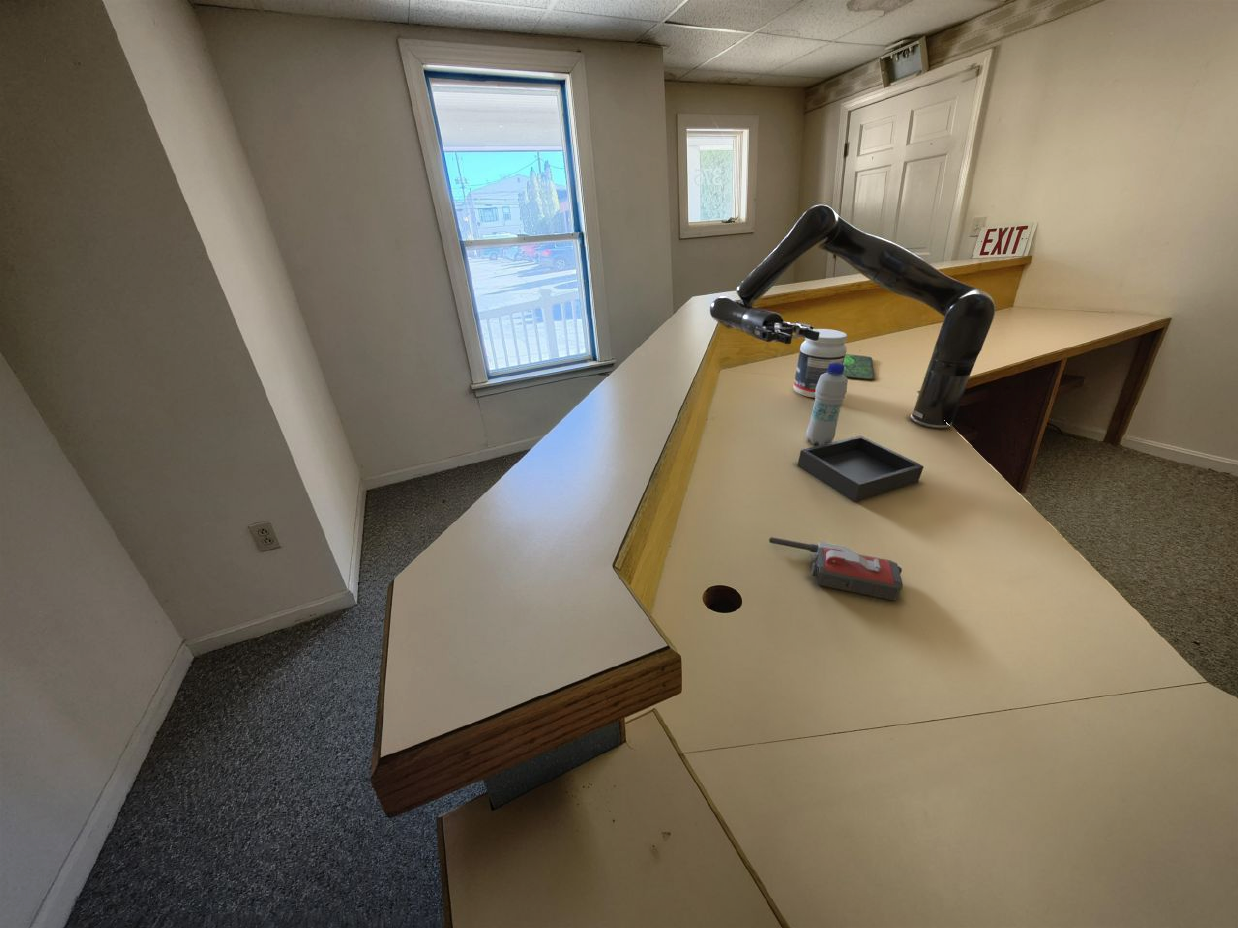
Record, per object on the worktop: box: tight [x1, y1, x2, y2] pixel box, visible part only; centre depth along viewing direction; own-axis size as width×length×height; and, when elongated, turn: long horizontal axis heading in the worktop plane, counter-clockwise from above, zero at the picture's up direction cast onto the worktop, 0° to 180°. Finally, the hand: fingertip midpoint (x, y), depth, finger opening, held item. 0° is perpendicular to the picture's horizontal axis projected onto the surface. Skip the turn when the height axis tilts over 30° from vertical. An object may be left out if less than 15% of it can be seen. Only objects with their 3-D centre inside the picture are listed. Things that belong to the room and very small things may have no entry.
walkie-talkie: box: [768, 536, 903, 601], centre depth 72 cm, size 9×4×20 cm
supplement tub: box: [792, 328, 848, 399], centre depth 137 cm, size 13×13×18 cm
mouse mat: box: [843, 353, 875, 381], centre depth 165 cm, size 27×22×1 cm
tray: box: [797, 435, 925, 503], centre depth 98 cm, size 18×16×4 cm
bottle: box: [806, 363, 849, 446], centre depth 107 cm, size 7×7×20 cm
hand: (804, 338), depth 110 cm, fingers open, 8 cm apart
